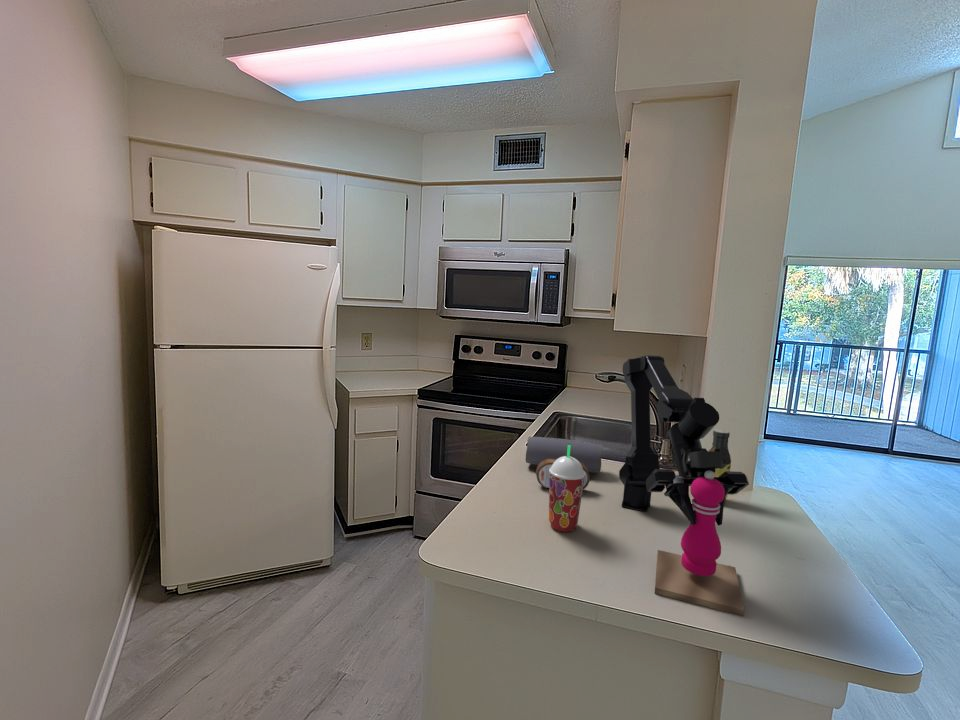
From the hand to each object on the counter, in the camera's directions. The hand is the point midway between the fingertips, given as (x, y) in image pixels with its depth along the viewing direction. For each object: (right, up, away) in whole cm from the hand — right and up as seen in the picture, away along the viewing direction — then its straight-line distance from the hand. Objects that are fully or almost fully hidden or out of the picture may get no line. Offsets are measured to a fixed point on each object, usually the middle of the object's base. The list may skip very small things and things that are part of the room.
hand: (707, 524), depth 95 cm
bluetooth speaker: (-17, -3, +61) cm, 63 cm away
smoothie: (-24, -8, +24) cm, 34 cm away
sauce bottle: (+22, -8, +43) cm, 49 cm away
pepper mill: (0, -9, +3) cm, 10 cm away
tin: (-20, -5, +46) cm, 50 cm away
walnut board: (-1, -12, +3) cm, 13 cm away
